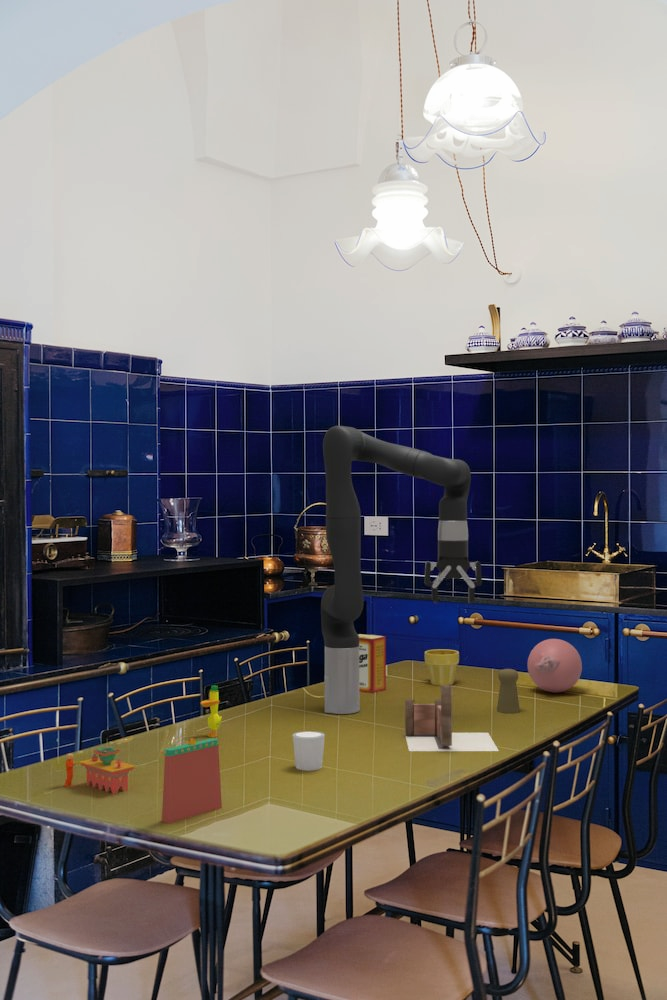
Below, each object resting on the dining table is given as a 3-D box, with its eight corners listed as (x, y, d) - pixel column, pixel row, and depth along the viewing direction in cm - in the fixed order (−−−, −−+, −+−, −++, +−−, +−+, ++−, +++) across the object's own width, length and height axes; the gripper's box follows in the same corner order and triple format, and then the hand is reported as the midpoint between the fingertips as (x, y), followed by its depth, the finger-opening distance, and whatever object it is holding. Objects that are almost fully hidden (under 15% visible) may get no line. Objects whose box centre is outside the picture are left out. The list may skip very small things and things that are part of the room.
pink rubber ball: (511, 696, 304) (511, 642, 304) (540, 685, 320) (540, 634, 320) (562, 702, 295) (562, 646, 295) (590, 690, 311) (590, 638, 311)
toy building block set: (168, 824, 189) (168, 744, 189) (56, 787, 213) (56, 716, 213) (221, 809, 198) (221, 732, 198) (108, 775, 222) (108, 706, 222)
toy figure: (206, 740, 252) (206, 689, 251) (196, 737, 254) (196, 687, 254) (227, 734, 257) (227, 685, 257) (216, 732, 259) (216, 683, 259)
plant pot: (425, 687, 318) (425, 654, 318) (423, 680, 328) (423, 649, 328) (460, 687, 317) (460, 654, 317) (457, 681, 328) (457, 649, 328)
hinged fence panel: (434, 735, 252) (434, 677, 252) (444, 735, 252) (444, 677, 252) (441, 747, 240) (441, 687, 240) (452, 747, 240) (452, 687, 240)
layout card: (409, 752, 239) (409, 750, 239) (404, 734, 257) (404, 732, 257) (499, 752, 239) (499, 750, 239) (488, 734, 257) (488, 732, 257)
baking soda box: (346, 689, 314) (346, 635, 314) (359, 686, 319) (359, 632, 319) (372, 693, 308) (372, 637, 308) (385, 689, 314) (385, 635, 313)
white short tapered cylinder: (314, 772, 222) (314, 739, 222) (286, 768, 226) (286, 735, 226) (330, 765, 228) (330, 732, 228) (303, 761, 232) (303, 729, 232)
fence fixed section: (405, 736, 253) (405, 701, 253) (405, 734, 255) (404, 699, 255) (443, 736, 253) (443, 701, 253) (442, 734, 255) (442, 699, 255)
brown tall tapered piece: (519, 708, 286) (519, 667, 286) (520, 713, 280) (520, 671, 280) (496, 708, 287) (496, 667, 287) (497, 713, 281) (497, 671, 281)
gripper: (479, 537, 273) (479, 601, 273) (423, 537, 273) (423, 601, 273) (483, 539, 265) (483, 604, 266) (425, 539, 266) (425, 604, 266)
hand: (453, 603), depth 269 cm, fingers open, 8 cm apart
